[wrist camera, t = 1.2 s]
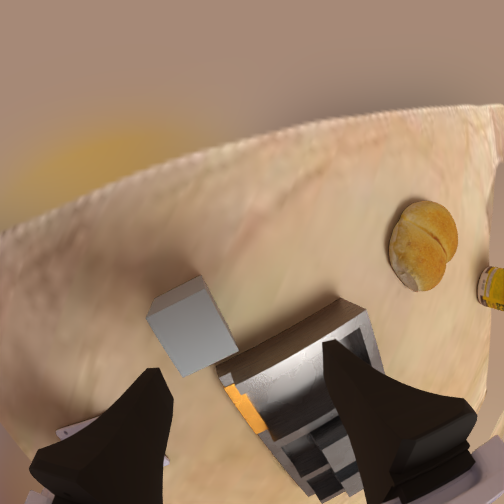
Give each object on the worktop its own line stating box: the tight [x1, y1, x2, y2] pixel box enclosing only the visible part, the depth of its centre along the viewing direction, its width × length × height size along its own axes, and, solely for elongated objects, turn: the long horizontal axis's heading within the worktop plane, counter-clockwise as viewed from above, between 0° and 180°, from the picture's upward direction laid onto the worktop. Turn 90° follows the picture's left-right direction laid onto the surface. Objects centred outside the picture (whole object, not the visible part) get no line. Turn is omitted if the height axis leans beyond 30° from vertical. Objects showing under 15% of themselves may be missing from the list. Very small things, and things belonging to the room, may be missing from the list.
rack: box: [216, 298, 385, 504], centre depth 22 cm, size 12×22×6 cm, turn 25°
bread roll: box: [389, 201, 458, 292], centre depth 24 cm, size 8×9×4 cm
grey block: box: [146, 275, 239, 377], centre depth 19 cm, size 4×4×5 cm
